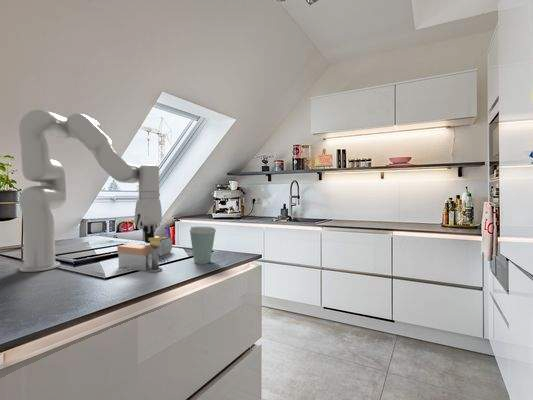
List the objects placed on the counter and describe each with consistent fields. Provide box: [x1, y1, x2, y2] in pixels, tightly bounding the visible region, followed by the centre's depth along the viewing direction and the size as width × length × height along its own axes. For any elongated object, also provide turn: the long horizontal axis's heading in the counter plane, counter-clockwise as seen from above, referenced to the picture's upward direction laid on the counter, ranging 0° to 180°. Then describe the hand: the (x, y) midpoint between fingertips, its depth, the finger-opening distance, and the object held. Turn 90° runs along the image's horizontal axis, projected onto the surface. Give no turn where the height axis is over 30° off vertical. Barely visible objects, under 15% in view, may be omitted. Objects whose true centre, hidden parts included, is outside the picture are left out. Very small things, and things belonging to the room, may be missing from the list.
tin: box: [158, 235, 173, 258], centre depth 140 cm, size 15×3×8 cm, turn 172°
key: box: [148, 236, 162, 246], centre depth 117 cm, size 11×4×3 cm, turn 15°
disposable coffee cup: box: [189, 226, 217, 265], centre depth 126 cm, size 11×11×15 cm
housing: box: [117, 246, 163, 273], centre depth 116 cm, size 19×5×9 cm, turn 66°
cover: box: [116, 243, 152, 256], centre depth 117 cm, size 13×6×2 cm, turn 66°
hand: (149, 242), depth 120 cm, fingers closed
